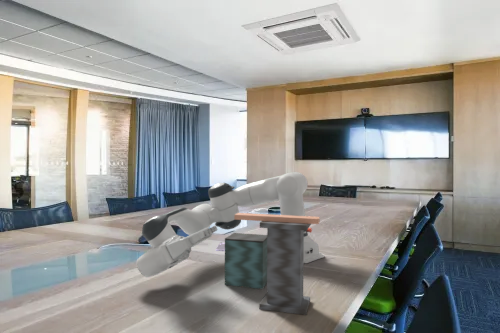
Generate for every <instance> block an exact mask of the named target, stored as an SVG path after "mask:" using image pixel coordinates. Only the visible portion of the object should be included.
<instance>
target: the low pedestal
mask: <svg viewBox="0 0 500 333" xmlns="http://www.w3.org/2000/svg"><path fill="white" fill-rule="evenodd" d="M224 243H225V251H224V286H233V287H241V286H243V287H244V288H250V287H251V288H250V289H252V288H253V289H259V288H260V289H259V290H263V289H264V288H265V287H266V286H267V234H256V233H254V234H253V233H243V232H242V233H239V232H233V233H232V234H230V235H228V236H227V237H225V238H224Z"/></svg>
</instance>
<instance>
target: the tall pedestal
mask: <svg viewBox="0 0 500 333" xmlns="http://www.w3.org/2000/svg"><path fill="white" fill-rule="evenodd" d="M311 225H312V224H307V223H289V222H271V221H259V228H260V229H266V230H267V231H266V232H267V233H266V235H267V283H266V293H265V294H264V296H263V298H262V299H261V300H260V302H259V306H258V308H259V310H265V311H272V312H280V313H287V314H296V315H303V316H304V315H305V316H307V315H308V314H307V313H308V310H309V307H310V304H311V296H306V295H304V265H305V263H304V230H305V231H307V230H308V228H310V226H311Z"/></svg>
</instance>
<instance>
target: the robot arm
mask: <svg viewBox="0 0 500 333" xmlns="http://www.w3.org/2000/svg"><path fill="white" fill-rule="evenodd" d="M307 189H308V179H307V177H306V176H305V174H303V173H302V172H299V171H293V172H287V173H283V174H281V175H278V176H273V177H269V178H265V179H261V180H257V181H253V182H249V183H247V184H243V185H241V186H239V187H237V188H235V186H233V185H231V184H229V183H226V182H217V183H215V184H213V185H212V186H210V188H208V190H207V191H208V192H207V194H208V198H209V199H210V203H211V204H209V203H201V204H199V205H197V206H195V207H194V208H192V209H189V208H187V207H180V208H177V209H174V210H171V211H170V212H166V213H164V214H159V215H155V216H153V217H151V218H149V219H147V220H146V221H145V222H144V224H142V227H141V228H142V229H141V235H142V236H143V238H144V239H145V240H146V241H147V242H148V244H149V245H150V247H151V248H150V249H148V250H147V251H146V252H144V253H143V254H142V255H140V256H139V257H138V258H137V259H136V266H137V270H138V271H139V272H140V274H141V275H142V276H143V277H145V278H151V277H155V276H156V275H159V274H161V273H163V272H165V271H167V270H168V269H171V268H173V267H175V266H176V265H178V264H180V263H182V262H184V261H185V260H188V259H189V257H190V254H191V252H192V248H194V247H196V246H197V245H199V244H200V243H203V242H204V241H207V240H209V239H210V238H211V237H212V236H213V235H212V234H214V233H216V232H217V231H218V227H219V228H221V230H228V231H229V230H232V229H235V228H236V227H238V226H240V224H241V223H242V220H235V219H234V215H235V214H237V213H240V208H242V209H243V208H252V207H257V206H261V205H266V204H270V203H274V202H277V201H279V209H280V215H292V216H306V208H305V202H304V193H305V192H306V191H307ZM171 223H174V224H176V225H177V226H178V227H179V229H181V231H183V232H184V233H185V234H186V235H187V236H183V235H179V234H177V233H176V232H175V230H174V228H173V227H172V225H171ZM213 224H214V225H213ZM212 225H213V226H212ZM211 226H212V227H211ZM312 231H313V229H312V228H311V227H309V228H308V230H307V231H305V230H304V264H309V263H311V262H314V261H317V260H319V259H323V258H325V254H324V253H322V252H320V250H319V249H320V247H319V243H318V242H317V241H315V240H314V239H313V238H312V237H311V236H310V235H309V233H312Z"/></svg>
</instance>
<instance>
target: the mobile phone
mask: <svg viewBox="0 0 500 333" xmlns="http://www.w3.org/2000/svg"><path fill="white" fill-rule="evenodd" d="M215 251H218V252H225V242H219V244H218V245H217V246H216V249H215Z"/></svg>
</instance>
